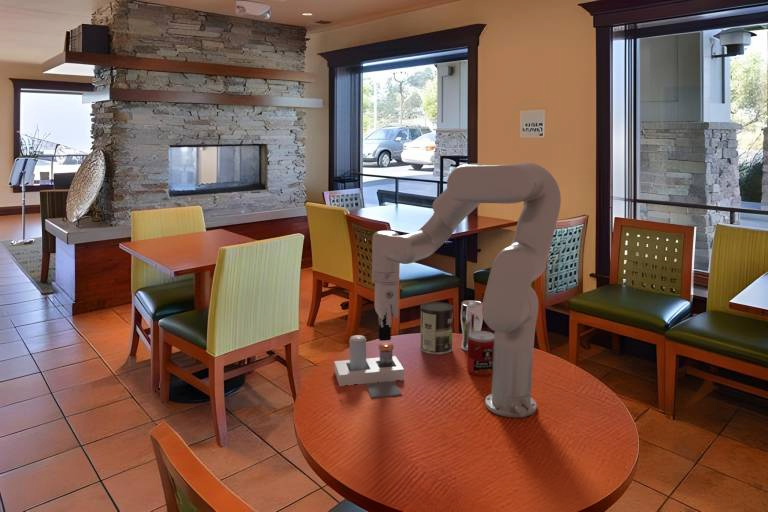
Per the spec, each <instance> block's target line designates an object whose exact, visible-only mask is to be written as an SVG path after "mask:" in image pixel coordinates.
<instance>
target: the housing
mask: <svg viewBox="0 0 768 512" xmlns="http://www.w3.org/2000/svg"><path fill="white" fill-rule="evenodd" d="M334 374H335V376H336V377H335V378H336V380H337V382H338V385H339V387H344V386H345V385H348V386H355V385H354V384H358V385H366V384H367V383H369V384H371V383H377V382H379V383H381V382H389V381H390V382H392V381H395V382H397V381H396V380H400V381H405V369H404V367H403V366H402V364H401V362H400V360H399V359H398V358H397V356H396V355H392V367H383V368H382V367H380V356H378V357H370V358H368V357H366V370H358V371H350V359H345V360H334ZM345 387H346V386H345Z"/></svg>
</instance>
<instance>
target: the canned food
mask: <svg viewBox="0 0 768 512" xmlns="http://www.w3.org/2000/svg"><path fill="white" fill-rule="evenodd" d="M494 334H495V333H493V332H490V331H486V330H481V331H473V332H471V333H469V336H468V351H467V364H466V365H467V368H466V369H467V371H468V373H469V374H470V375H472V376H475V377H481V378H482V377H483V378H484V377H489V376H492V373H493V349H494Z"/></svg>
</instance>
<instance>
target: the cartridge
mask: <svg viewBox="0 0 768 512" xmlns="http://www.w3.org/2000/svg"><path fill="white" fill-rule="evenodd" d="M366 358H367V338H366V336H364V335H361V334H360V335H359V334H358V335H357V334H356V335H352V336H350V338H349V360H350V371H358V370H366Z"/></svg>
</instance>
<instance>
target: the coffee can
mask: <svg viewBox="0 0 768 512" xmlns="http://www.w3.org/2000/svg"><path fill="white" fill-rule="evenodd" d="M453 312H454V306H453V305H452V304H450V303H447V302H440V301H431V302H424V303H421V305H420V343H419V344H420V346H419V350H420V351H422V352H423V353H425V354H429V355H446V354H449V353H451V352H452V351H453V321H454V319H453V318H454V317H453V315H454V313H453Z"/></svg>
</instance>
